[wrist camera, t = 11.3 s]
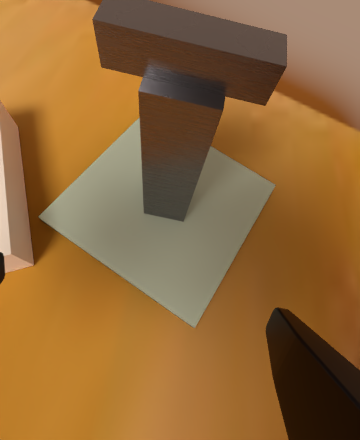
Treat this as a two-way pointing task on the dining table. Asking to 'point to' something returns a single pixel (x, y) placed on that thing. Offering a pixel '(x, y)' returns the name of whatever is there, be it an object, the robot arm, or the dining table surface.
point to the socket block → (13, 198)
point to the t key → (184, 85)
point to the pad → (161, 225)
